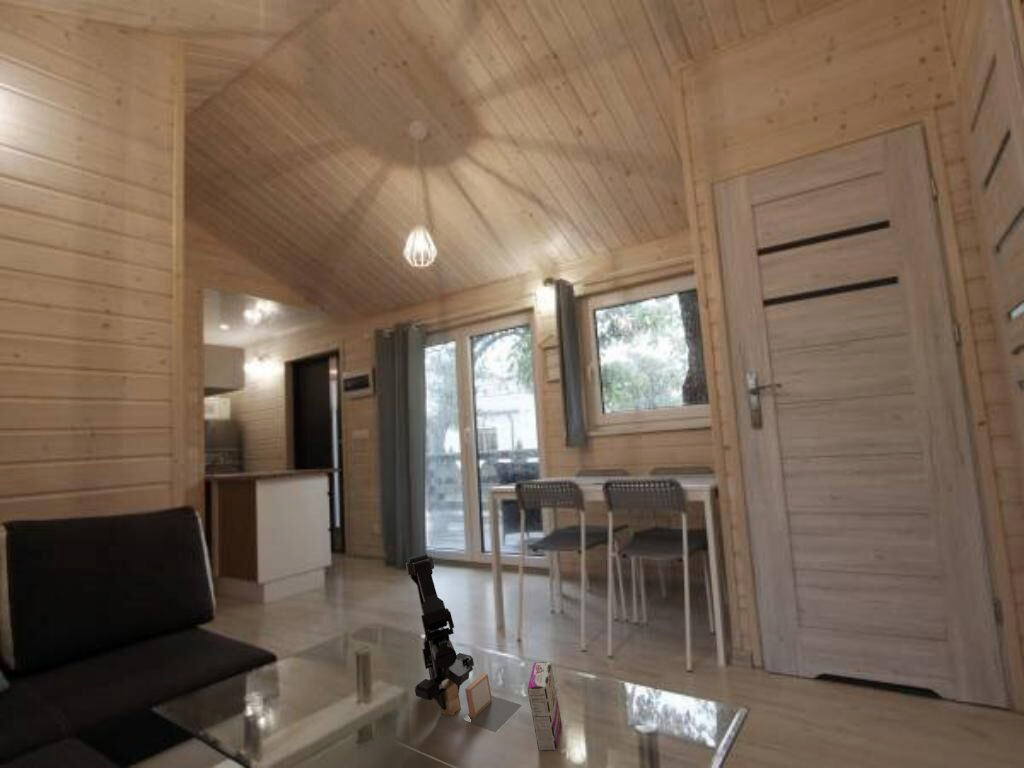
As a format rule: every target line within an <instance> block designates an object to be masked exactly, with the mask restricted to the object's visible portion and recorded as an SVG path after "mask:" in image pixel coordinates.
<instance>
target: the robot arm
mask: <svg viewBox="0 0 1024 768" xmlns="http://www.w3.org/2000/svg"><path fill="white" fill-rule="evenodd" d="M405 566H406V572H407V574H408V575H409V577H410V579H411V581H412V582H414V584H415V585H416V587H417V592H418V598H419V603H420V609H421V613H422V615H420V618H421V623H422V628H423V631H424V638H423V641H422V644H423V648H422V650H421V651H422V656H421V657H422V660H423V665H424V668H425V670H427V669H428V674H429V678H430V679H427V678H424V679H423V680H422V681H420V682H419V683H418V684H417V685H415V687H414V692H415V697H419V698H421V699H424V700H427V701H432V700H435V701H436V703H437V704H438V705H439V707H441V708H442V709H443V710H445V709H446V707H445V699H444V692H445V691H446V689H444V688H442V682H444V681H445V680H446V679H449V680H451V681H453V682H454V683H455V684H456V685H457V687H458V693H459V694H460V688H461V685H463V683H465V682H466V681H467V680H469V678H470V673H472V671H473V670H474V668H473V667H474V666H475V662H474V658H473V657H472V655H469V654H465V653H461V652H458V654H457V651H456V649H455V648H454V646H453V643H452V641H451V639H450V635H453V634H454V629H455V625H454V624H455V623H454V621H453V616H452V612H451V611H450V610H449V608H447V607H445V602H444V600H442V598H440V597H438V593H437V590H436V586H435V583H434V580H433V576H432V575H433V570H434V569H435V565H434V557H433V556H428V554H427V553H423V554H421V555H415V556H412V557H409V558H408V561H407V562H405ZM447 626H449V627H447ZM445 627H446V628H445ZM441 708H440V709H441Z"/></svg>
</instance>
